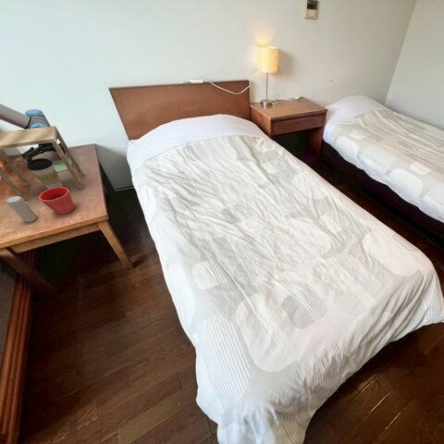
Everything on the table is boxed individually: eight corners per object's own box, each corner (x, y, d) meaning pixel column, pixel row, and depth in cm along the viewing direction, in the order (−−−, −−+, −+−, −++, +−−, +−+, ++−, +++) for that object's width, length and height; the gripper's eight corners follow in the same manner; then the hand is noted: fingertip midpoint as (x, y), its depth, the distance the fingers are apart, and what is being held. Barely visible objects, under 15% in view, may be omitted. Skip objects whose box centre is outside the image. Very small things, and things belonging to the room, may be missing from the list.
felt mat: (41, 175, 140) (40, 174, 140) (43, 163, 148) (42, 162, 148) (71, 169, 146) (71, 169, 146) (72, 159, 155) (71, 158, 154)
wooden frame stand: (22, 201, 123) (-24, 148, 104) (26, 184, 133) (-15, 133, 113) (84, 188, 135) (53, 138, 115) (83, 174, 144) (55, 125, 125)
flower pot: (79, 211, 121) (68, 196, 115) (50, 219, 116) (37, 203, 110) (78, 200, 127) (68, 184, 121) (51, 206, 122) (39, 190, 116)
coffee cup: (52, 194, 129) (34, 169, 119) (39, 189, 131) (20, 164, 121) (71, 184, 136) (55, 160, 126) (58, 180, 138) (41, 155, 128)
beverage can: (32, 214, 117) (15, 194, 109) (40, 217, 117) (23, 197, 108) (21, 221, 114) (2, 200, 106) (29, 223, 113) (11, 203, 105)
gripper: (77, 145, 154) (77, 161, 141) (24, 153, 143) (19, 170, 130) (70, 133, 148) (69, 149, 136) (15, 140, 138) (9, 158, 125)
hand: (45, 159), depth 133 cm, fingers open, 13 cm apart
